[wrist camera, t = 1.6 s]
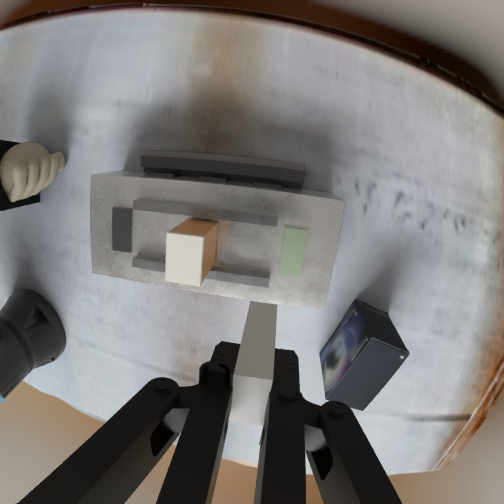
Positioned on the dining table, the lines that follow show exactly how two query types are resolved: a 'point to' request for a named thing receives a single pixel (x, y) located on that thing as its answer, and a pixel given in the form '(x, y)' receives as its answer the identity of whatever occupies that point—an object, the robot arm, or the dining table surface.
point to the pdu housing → (219, 233)
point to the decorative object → (26, 172)
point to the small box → (361, 356)
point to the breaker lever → (190, 251)
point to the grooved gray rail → (224, 167)
